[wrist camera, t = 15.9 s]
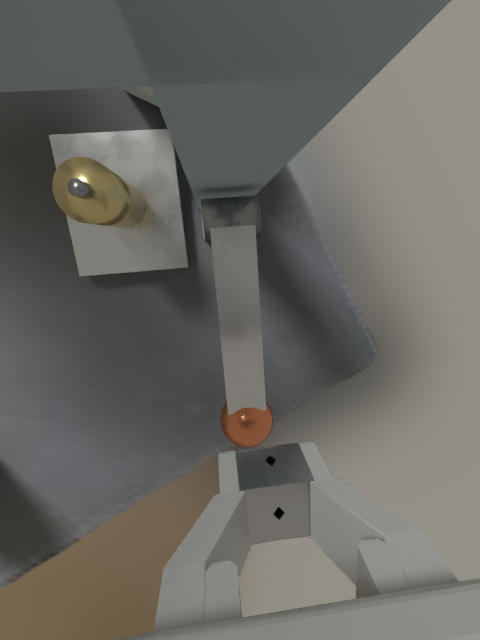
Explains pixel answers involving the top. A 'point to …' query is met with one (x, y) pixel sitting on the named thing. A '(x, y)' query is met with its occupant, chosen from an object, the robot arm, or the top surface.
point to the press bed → (157, 190)
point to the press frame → (215, 68)
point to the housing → (96, 194)
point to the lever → (239, 315)
